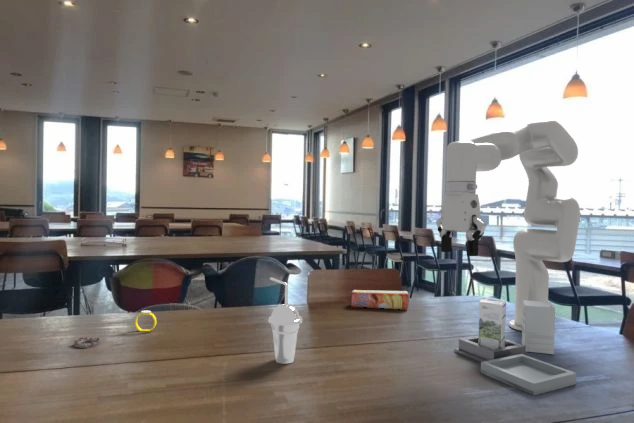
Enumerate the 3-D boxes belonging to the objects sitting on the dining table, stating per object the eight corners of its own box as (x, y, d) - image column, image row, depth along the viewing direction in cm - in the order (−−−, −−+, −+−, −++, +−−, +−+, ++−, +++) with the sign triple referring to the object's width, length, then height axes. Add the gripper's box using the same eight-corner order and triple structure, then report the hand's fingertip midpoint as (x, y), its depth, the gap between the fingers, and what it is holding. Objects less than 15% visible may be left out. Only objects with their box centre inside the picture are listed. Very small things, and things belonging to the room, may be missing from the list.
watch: (156, 330, 138) (158, 311, 138) (153, 333, 135) (155, 313, 135) (136, 329, 138) (138, 309, 137) (133, 331, 135) (134, 311, 135)
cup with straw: (275, 368, 108) (276, 283, 107) (261, 356, 116) (262, 277, 115) (307, 363, 112) (309, 281, 111) (292, 352, 120) (293, 275, 119)
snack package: (350, 308, 171) (350, 290, 171) (351, 304, 177) (352, 287, 177) (408, 311, 167) (409, 293, 167) (408, 307, 174) (408, 289, 174)
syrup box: (505, 354, 121) (506, 299, 120) (500, 361, 116) (502, 303, 115) (482, 350, 124) (484, 296, 123) (477, 356, 119) (478, 300, 118)
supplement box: (550, 346, 128) (551, 301, 128) (554, 355, 121) (555, 307, 121) (521, 343, 131) (522, 299, 130) (523, 351, 124) (525, 304, 123)
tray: (521, 363, 114) (521, 353, 114) (575, 384, 102) (576, 373, 102) (480, 372, 108) (481, 362, 107) (533, 395, 95) (534, 383, 95)
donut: (102, 350, 120) (102, 342, 120) (68, 354, 117) (68, 346, 117) (102, 340, 128) (102, 333, 128) (71, 344, 125) (70, 336, 125)
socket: (489, 345, 129) (489, 332, 128) (529, 359, 117) (530, 346, 117) (454, 351, 122) (454, 338, 122) (493, 367, 111) (494, 353, 111)
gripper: (496, 188, 116) (494, 257, 116) (448, 189, 131) (447, 250, 131) (474, 188, 112) (472, 258, 113) (427, 189, 128) (426, 250, 128)
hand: (458, 253), depth 122 cm, fingers open, 9 cm apart
